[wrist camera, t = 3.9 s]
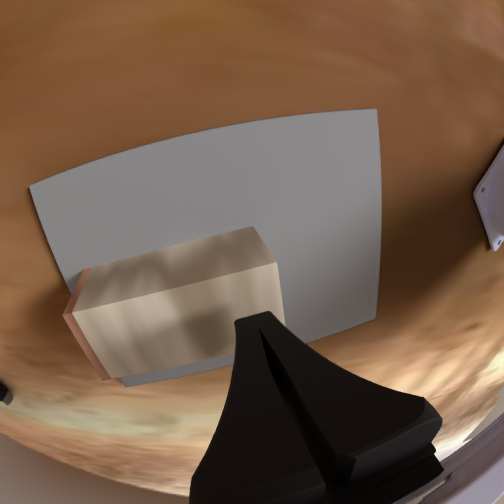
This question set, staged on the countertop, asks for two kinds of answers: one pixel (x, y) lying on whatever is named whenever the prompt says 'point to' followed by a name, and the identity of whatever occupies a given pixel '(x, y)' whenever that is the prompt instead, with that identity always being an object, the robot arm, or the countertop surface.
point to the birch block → (172, 303)
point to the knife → (5, 395)
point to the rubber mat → (238, 211)
